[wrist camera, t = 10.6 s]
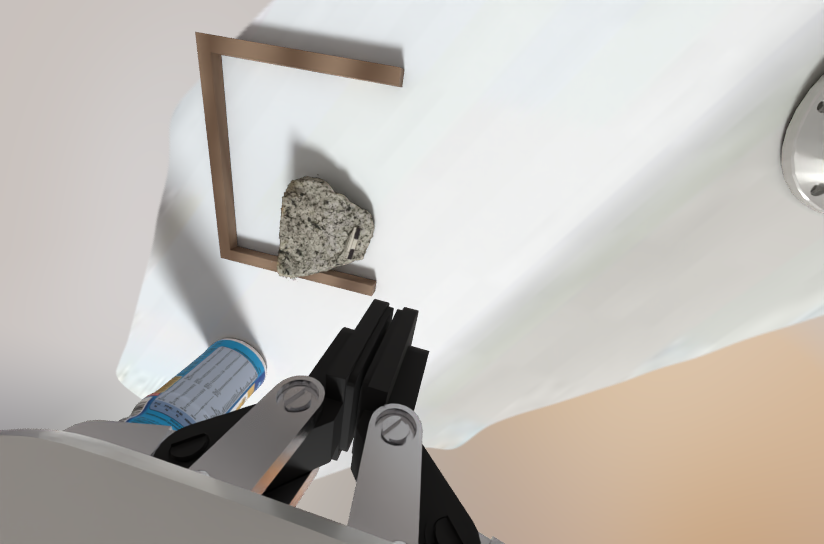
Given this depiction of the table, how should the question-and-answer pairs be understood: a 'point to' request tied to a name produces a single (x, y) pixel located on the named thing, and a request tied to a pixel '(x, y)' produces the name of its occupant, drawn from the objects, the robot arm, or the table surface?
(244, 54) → the frame
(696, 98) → the table surface
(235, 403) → the beverage bottle
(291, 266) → the rock sample
